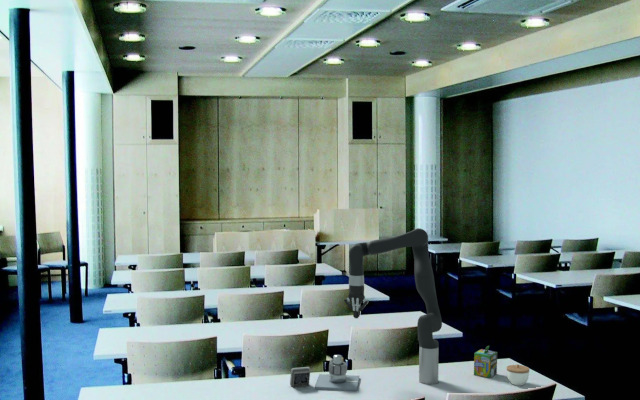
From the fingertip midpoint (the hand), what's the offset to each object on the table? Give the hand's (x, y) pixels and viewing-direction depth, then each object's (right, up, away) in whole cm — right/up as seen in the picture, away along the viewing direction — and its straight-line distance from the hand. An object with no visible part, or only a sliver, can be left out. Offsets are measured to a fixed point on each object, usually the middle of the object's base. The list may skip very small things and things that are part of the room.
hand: (356, 318), depth 359 cm
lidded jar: (+78, -30, -11) cm, 84 cm away
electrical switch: (-27, -30, -16) cm, 44 cm away
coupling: (-9, -24, -10) cm, 27 cm away
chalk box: (+66, -29, +3) cm, 72 cm away
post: (-10, -29, -12) cm, 33 cm away
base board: (-10, -30, -12) cm, 34 cm away
